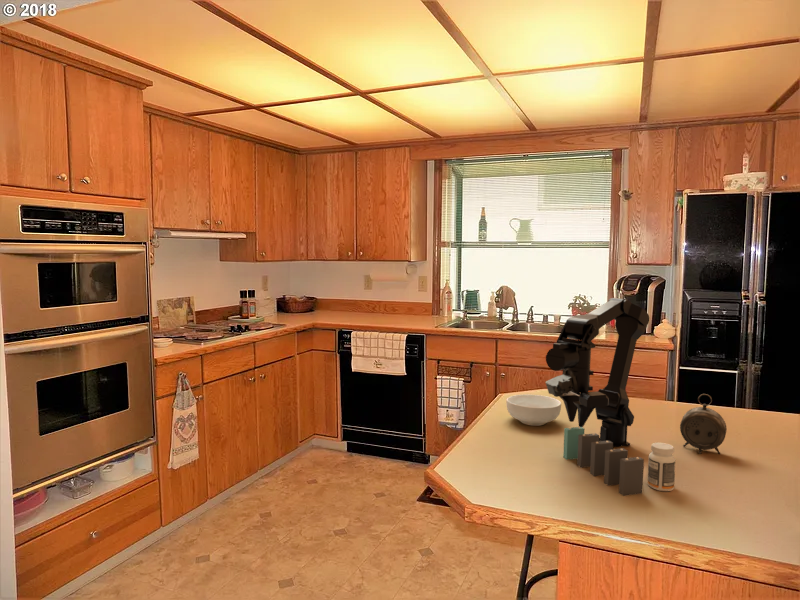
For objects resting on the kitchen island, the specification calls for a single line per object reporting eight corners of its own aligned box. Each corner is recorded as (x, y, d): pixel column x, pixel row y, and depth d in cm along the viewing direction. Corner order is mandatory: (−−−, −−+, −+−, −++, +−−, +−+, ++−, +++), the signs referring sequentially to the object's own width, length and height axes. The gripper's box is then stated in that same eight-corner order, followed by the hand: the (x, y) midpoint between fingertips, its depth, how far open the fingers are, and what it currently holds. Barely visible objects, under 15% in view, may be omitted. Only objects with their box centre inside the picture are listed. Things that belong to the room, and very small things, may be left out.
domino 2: (594, 463, 143) (595, 432, 142) (598, 465, 142) (599, 434, 141) (577, 465, 142) (578, 433, 141) (580, 467, 140) (582, 435, 140)
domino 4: (621, 480, 133) (623, 447, 132) (626, 483, 131) (627, 449, 130) (603, 482, 131) (605, 448, 131) (608, 485, 130) (609, 451, 129)
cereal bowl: (566, 419, 179) (567, 398, 179) (551, 434, 165) (551, 411, 165) (516, 411, 188) (517, 390, 188) (497, 424, 174) (498, 402, 174)
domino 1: (579, 455, 148) (581, 425, 148) (583, 457, 147) (584, 427, 146) (563, 457, 147) (564, 427, 146) (566, 459, 146) (567, 429, 145)
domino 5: (637, 490, 127) (639, 455, 127) (642, 493, 126) (644, 458, 125) (618, 492, 126) (620, 457, 125) (623, 495, 125) (625, 460, 124)
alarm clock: (725, 453, 151) (728, 394, 149) (723, 459, 147) (727, 399, 145) (680, 444, 157) (683, 388, 156) (677, 450, 153) (680, 392, 151)
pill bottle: (672, 483, 131) (674, 443, 130) (675, 493, 126) (678, 451, 125) (646, 480, 133) (648, 440, 132) (648, 490, 128) (650, 448, 127)
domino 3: (607, 471, 138) (609, 439, 137) (611, 474, 136) (613, 441, 136) (590, 473, 137) (591, 441, 136) (593, 476, 135) (595, 443, 134)
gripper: (533, 360, 151) (531, 415, 153) (571, 375, 134) (568, 438, 135) (569, 358, 154) (566, 413, 156) (611, 373, 136) (608, 434, 138)
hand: (576, 424), depth 146 cm, fingers open, 4 cm apart
